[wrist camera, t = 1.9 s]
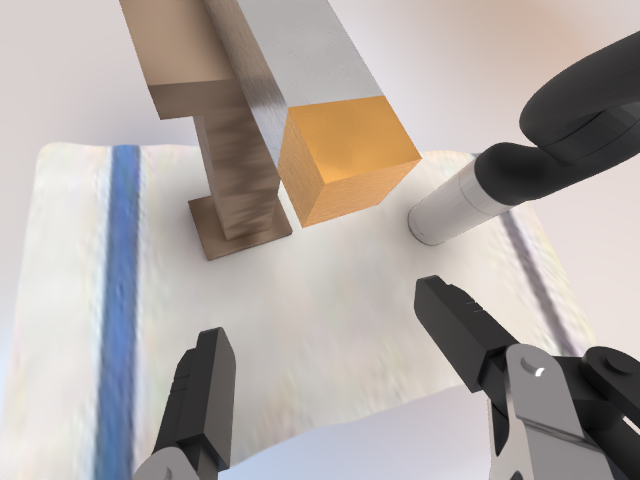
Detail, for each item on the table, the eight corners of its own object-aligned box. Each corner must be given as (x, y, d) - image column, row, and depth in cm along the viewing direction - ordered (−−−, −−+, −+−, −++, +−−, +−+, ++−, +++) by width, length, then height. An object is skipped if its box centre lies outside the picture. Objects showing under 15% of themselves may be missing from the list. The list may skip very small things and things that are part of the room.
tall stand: (267, 179, 48) (301, -62, 19) (294, 241, 45) (380, 68, 16) (187, 197, 43) (67, -94, 14) (210, 269, 40) (120, 87, 11)
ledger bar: (240, -57, 17) (239, -147, 14) (377, 204, 13) (422, 158, 9) (174, -65, 16) (156, -168, 12) (302, 228, 11) (324, 183, 8)
